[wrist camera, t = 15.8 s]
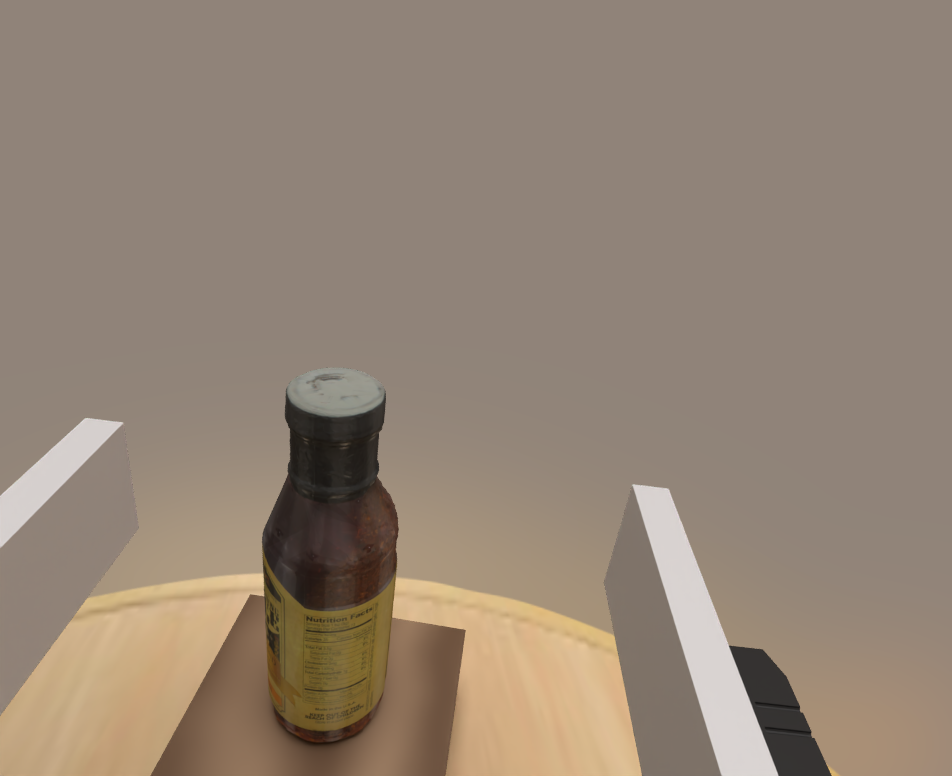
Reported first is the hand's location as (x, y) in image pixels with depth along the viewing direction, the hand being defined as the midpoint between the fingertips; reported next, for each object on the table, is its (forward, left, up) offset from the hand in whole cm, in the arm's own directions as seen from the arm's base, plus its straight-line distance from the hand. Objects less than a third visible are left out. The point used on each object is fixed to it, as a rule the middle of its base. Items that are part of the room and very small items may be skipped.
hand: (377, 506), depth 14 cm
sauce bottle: (-4, +13, -24) cm, 28 cm away
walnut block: (-4, +13, -30) cm, 33 cm away
